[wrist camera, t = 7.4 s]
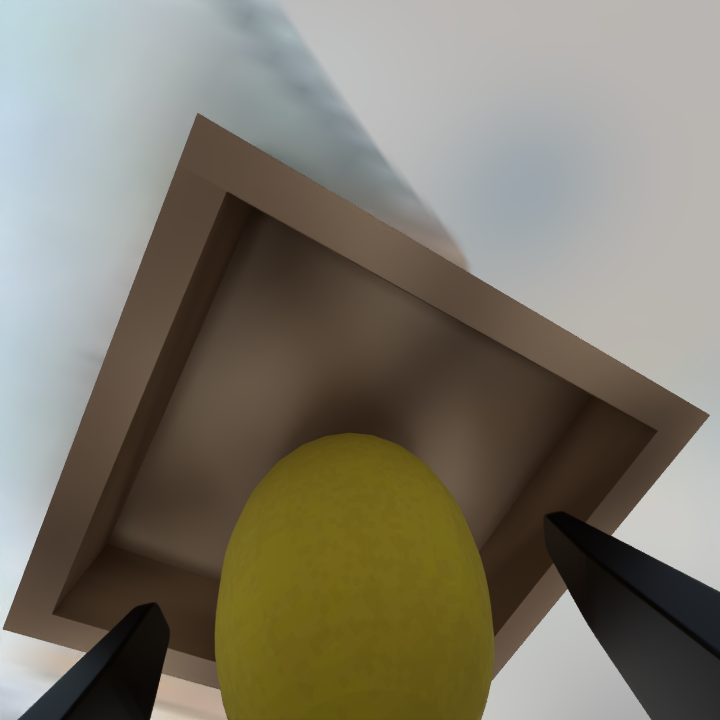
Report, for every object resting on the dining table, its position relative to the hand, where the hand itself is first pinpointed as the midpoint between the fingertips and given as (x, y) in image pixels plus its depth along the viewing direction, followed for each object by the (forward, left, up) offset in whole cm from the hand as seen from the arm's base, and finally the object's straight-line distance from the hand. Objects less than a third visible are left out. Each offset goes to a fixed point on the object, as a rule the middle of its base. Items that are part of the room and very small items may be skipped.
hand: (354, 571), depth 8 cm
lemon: (0, 0, -4) cm, 4 cm away
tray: (0, 0, -5) cm, 5 cm away
